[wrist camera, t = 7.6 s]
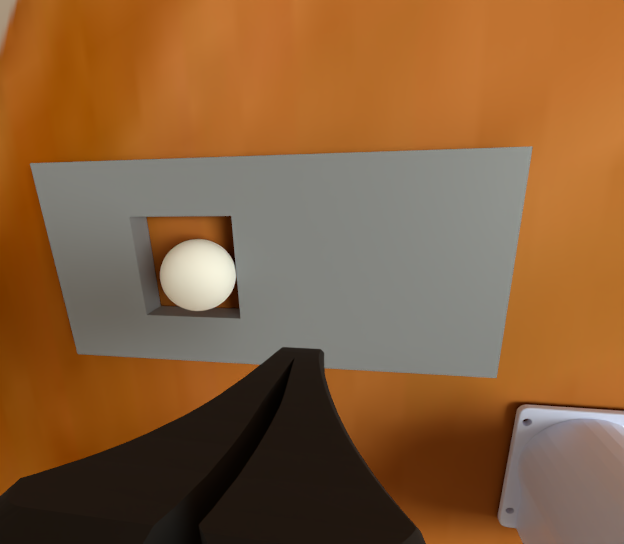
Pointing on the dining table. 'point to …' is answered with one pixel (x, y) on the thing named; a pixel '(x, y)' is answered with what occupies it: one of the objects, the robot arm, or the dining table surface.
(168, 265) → the ball
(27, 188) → the dining table surface
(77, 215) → the board
